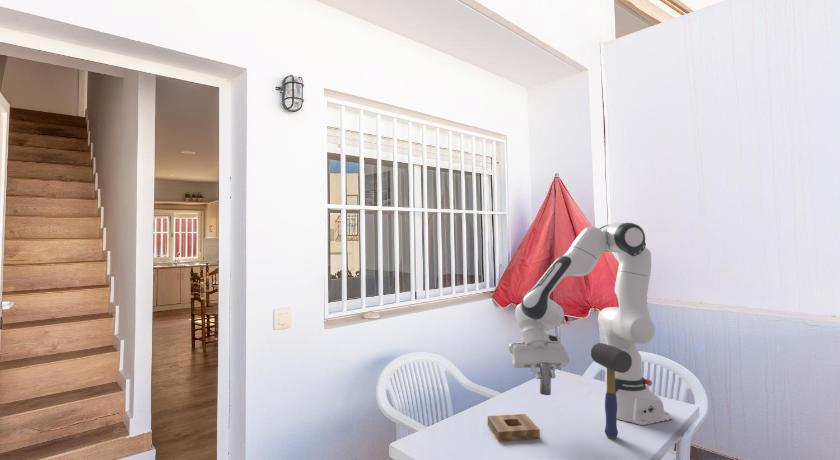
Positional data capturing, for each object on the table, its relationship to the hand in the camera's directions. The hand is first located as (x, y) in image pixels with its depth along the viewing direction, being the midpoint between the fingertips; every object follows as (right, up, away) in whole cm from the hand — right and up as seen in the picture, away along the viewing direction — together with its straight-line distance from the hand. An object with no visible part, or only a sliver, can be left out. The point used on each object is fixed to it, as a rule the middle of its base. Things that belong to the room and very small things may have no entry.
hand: (546, 378), depth 140 cm
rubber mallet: (+20, -18, -5) cm, 27 cm away
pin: (0, -5, +1) cm, 5 cm away
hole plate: (-12, -18, -1) cm, 21 cm away
